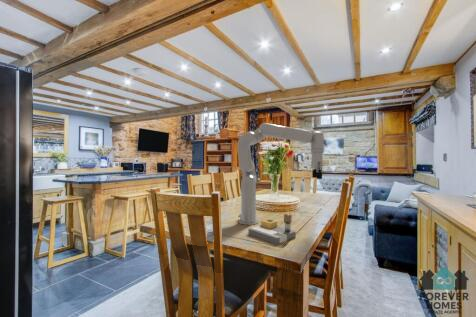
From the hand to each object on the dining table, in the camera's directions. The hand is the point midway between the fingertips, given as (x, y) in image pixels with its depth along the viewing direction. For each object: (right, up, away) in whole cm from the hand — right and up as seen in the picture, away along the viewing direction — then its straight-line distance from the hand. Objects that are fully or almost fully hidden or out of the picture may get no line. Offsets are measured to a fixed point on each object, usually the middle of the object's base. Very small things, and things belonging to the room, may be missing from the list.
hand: (317, 178), depth 145 cm
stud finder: (-32, -27, -13) cm, 44 cm away
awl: (-23, -27, -21) cm, 42 cm away
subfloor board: (-32, -30, -20) cm, 48 cm away
